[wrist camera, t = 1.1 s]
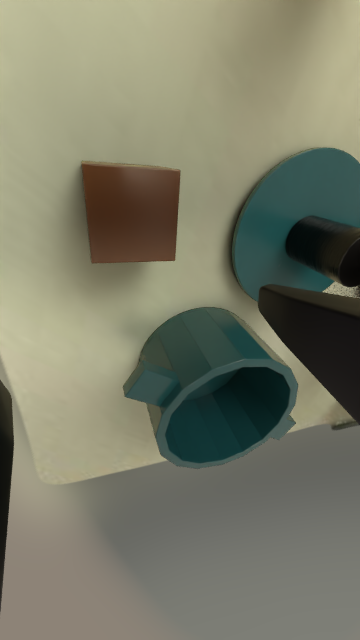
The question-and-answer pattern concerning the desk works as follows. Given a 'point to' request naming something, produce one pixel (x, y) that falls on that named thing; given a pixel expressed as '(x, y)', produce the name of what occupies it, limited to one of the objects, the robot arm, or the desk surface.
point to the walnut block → (131, 211)
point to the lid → (301, 225)
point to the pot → (212, 388)
